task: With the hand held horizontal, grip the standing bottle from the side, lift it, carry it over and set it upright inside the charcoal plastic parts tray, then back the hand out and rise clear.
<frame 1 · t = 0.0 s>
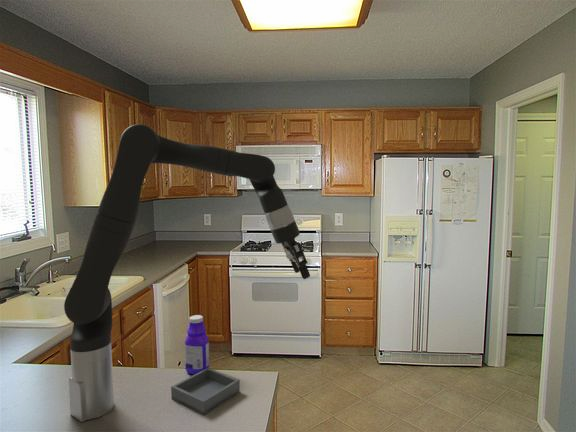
hand: (302, 274, 107), 31 cm above the countertop, tool tilted 20°, fingers open, 8 cm apart
parts tray: (206, 395, 101), on the countertop
bottle: (197, 372, 115), on the countertop
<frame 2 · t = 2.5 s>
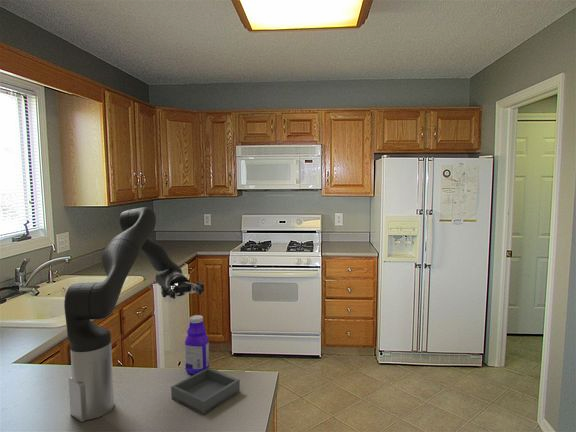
hand: (187, 293, 123), 22 cm above the countertop, tool horizontal, fingers open, 8 cm apart
nothing on the countertop moved.
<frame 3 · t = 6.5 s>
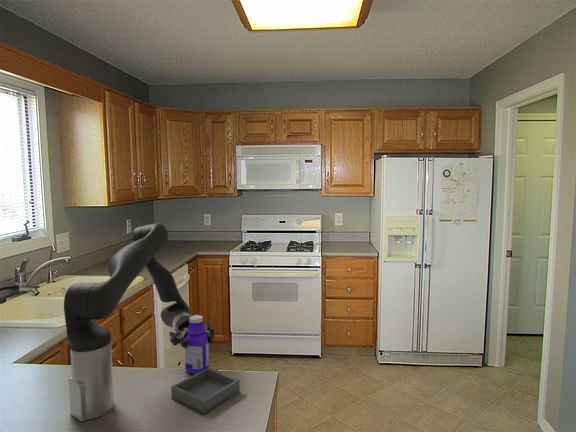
hand: (198, 342, 113), 10 cm above the countertop, tool horizontal, fingers closed on bottle, 7 cm apart
bottle: (197, 371, 115), on the countertop, touching gripper
when the fingers open (12 cm above the countertop, at t = 11.4 s): bottle stays where it is, resting on parts tray.
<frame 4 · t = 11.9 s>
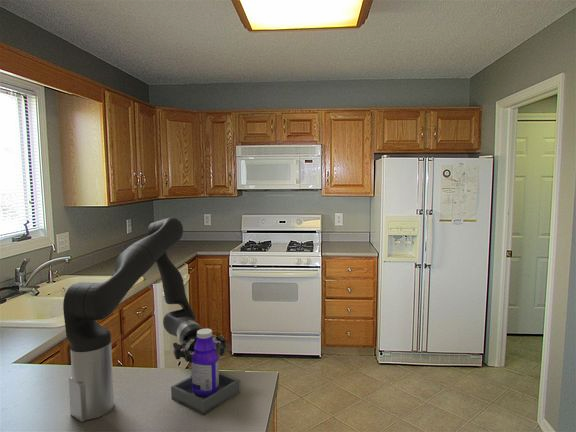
hand: (206, 355, 99), 12 cm above the countertop, tool horizontal, fingers open, 8 cm apart
bottle: (206, 392, 101), point 1 cm above the countertop, touching parts tray
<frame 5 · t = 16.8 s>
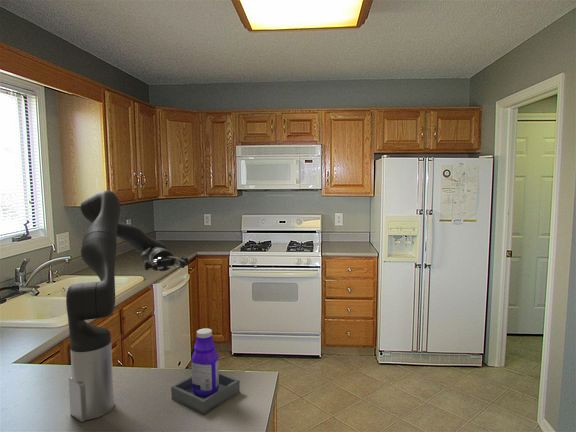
hand: (170, 266, 121), 32 cm above the countertop, tool horizontal, fingers open, 8 cm apart
nothing on the countertop moved.
at the end: bottle inside the target area on the parts tray (0.2 cm from its centre), point 0.6 cm above the parts tray's base; bottle tilted 0°; the gripper is holding nothing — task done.
